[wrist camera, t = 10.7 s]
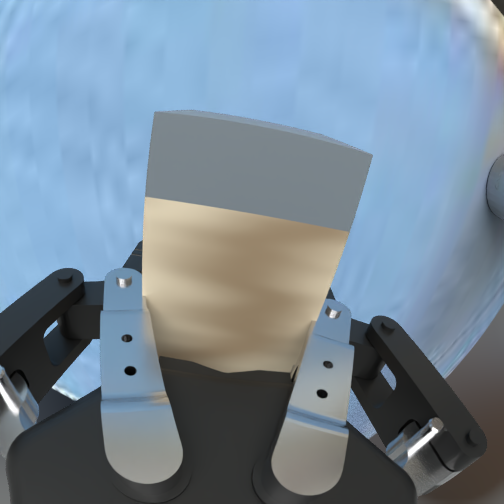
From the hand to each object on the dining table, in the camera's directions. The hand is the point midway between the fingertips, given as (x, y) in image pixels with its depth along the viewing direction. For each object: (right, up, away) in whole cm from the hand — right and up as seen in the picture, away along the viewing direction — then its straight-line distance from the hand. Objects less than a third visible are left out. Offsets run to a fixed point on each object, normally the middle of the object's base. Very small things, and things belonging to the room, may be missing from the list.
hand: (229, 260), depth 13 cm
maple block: (-1, -6, 0) cm, 7 cm away
